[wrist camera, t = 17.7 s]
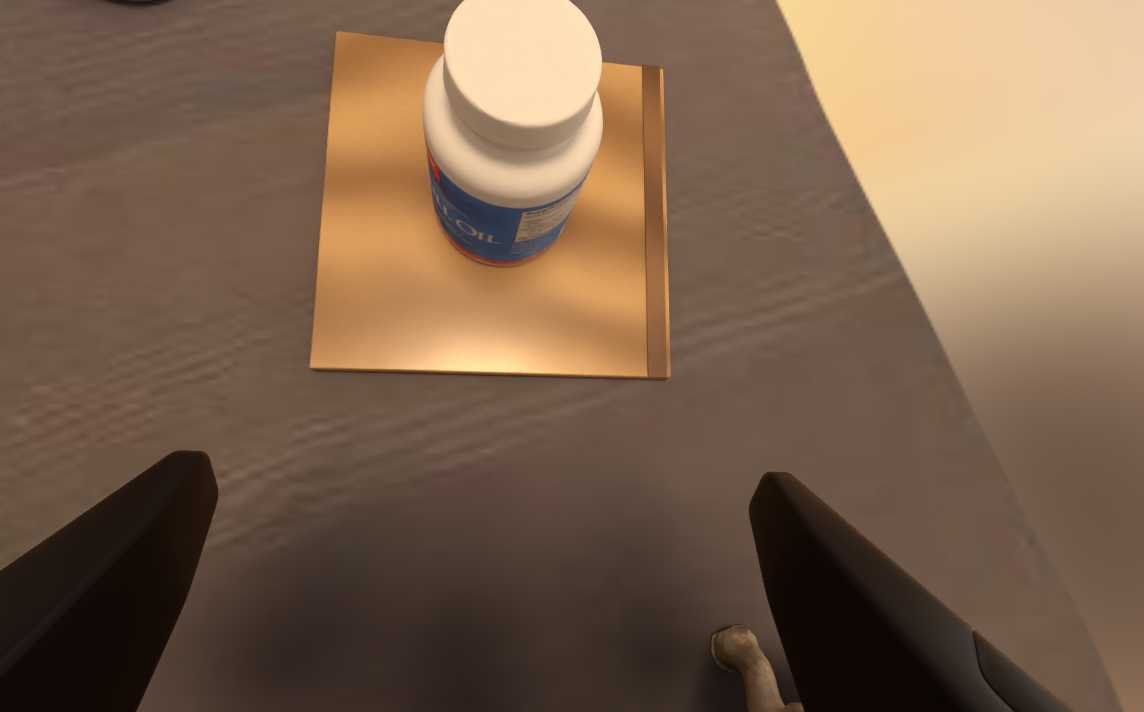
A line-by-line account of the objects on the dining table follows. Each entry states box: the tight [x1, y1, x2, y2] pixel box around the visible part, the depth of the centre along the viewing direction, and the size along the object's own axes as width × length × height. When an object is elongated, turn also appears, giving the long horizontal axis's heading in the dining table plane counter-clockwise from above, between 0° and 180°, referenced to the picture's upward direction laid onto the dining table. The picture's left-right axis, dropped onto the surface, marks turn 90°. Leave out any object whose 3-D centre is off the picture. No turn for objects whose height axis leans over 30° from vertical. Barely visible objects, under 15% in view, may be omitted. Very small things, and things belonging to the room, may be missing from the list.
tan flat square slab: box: [309, 31, 671, 379], centre depth 24 cm, size 14×14×1 cm
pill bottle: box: [422, 0, 603, 266], centre depth 19 cm, size 6×5×10 cm
